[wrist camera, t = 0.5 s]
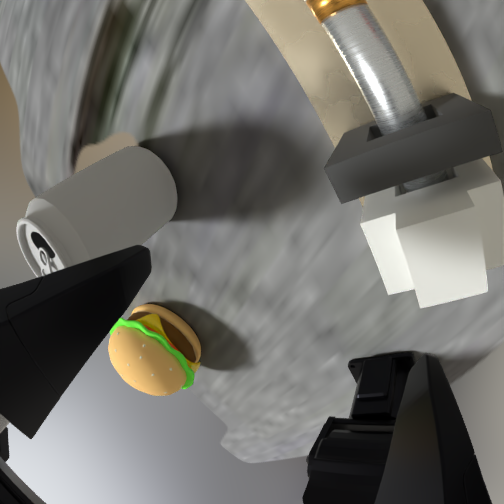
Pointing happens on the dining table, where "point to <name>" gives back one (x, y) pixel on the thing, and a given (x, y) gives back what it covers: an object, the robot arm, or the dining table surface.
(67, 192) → the can
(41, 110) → the dining table surface
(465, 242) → the bracket
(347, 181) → the block
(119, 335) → the hamburger
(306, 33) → the beige mechanical fixture
